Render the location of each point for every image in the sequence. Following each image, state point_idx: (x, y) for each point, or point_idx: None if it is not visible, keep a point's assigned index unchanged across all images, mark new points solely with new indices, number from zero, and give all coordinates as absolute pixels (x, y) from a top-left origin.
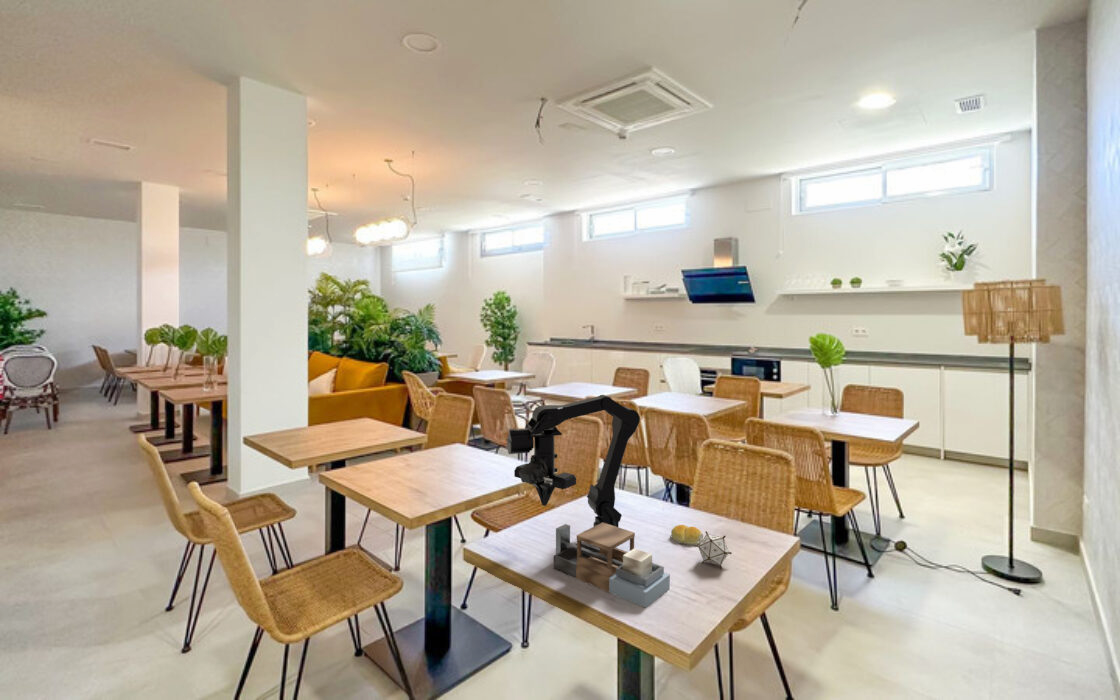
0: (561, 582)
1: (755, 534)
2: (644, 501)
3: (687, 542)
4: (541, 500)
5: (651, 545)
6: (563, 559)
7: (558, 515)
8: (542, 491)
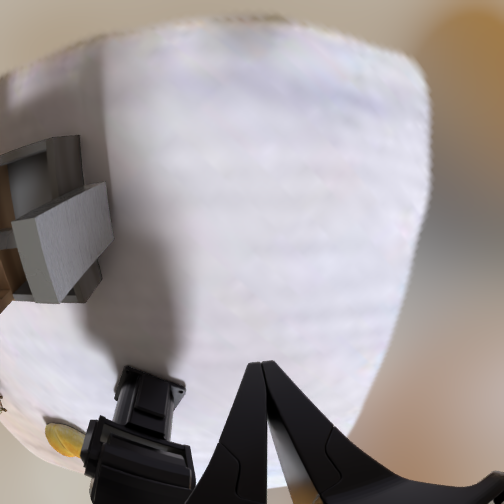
0: (20, 105)
1: (57, 460)
2: None
3: (49, 425)
4: (283, 387)
5: (69, 403)
6: (17, 150)
7: (348, 396)
8: (298, 472)
